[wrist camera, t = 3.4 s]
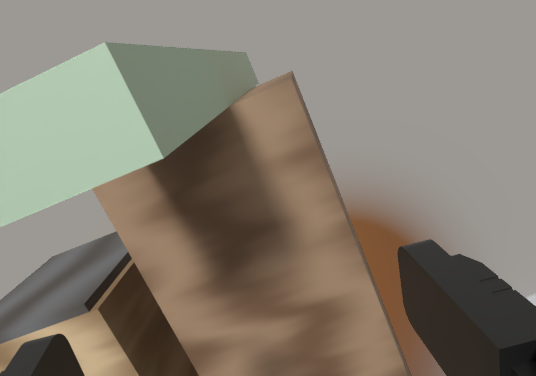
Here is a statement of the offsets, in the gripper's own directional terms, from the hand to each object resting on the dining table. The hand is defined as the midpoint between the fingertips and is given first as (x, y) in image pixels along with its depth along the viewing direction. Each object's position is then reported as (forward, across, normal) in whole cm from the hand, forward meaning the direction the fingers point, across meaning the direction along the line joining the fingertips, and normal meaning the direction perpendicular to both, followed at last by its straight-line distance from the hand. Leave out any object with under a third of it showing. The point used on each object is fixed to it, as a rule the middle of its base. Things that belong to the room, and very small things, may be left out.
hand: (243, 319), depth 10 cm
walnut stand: (+12, +5, -28) cm, 31 cm away
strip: (+12, -1, +3) cm, 13 cm away
